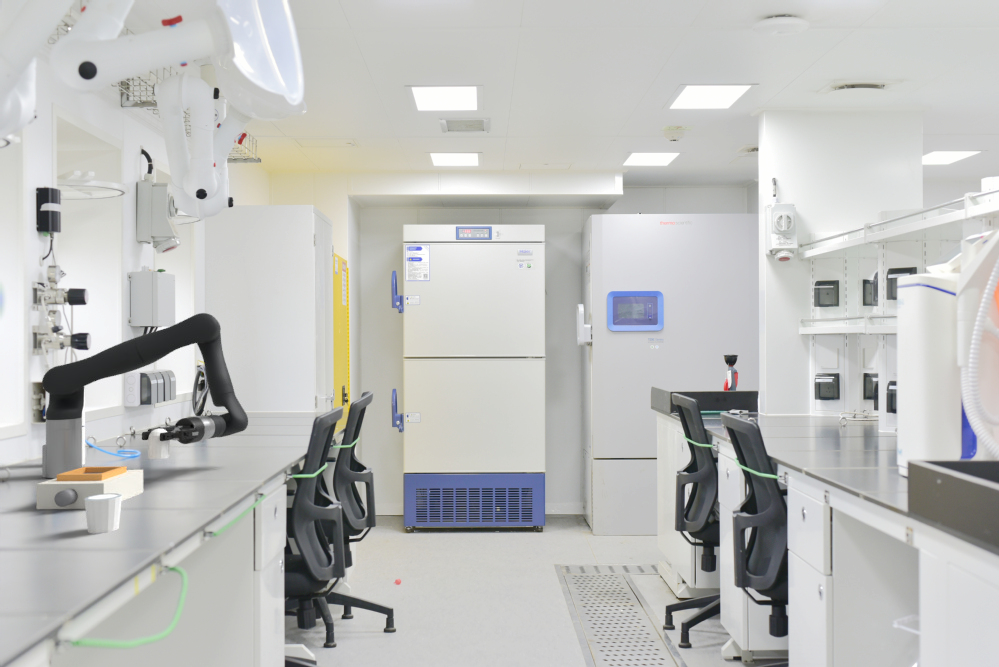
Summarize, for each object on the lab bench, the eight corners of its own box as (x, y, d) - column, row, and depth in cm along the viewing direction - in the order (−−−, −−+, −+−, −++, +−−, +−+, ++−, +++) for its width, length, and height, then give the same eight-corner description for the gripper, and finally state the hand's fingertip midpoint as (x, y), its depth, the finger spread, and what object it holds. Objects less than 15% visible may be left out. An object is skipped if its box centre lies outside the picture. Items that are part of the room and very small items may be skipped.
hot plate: (27, 512, 160) (27, 480, 160) (82, 493, 181) (82, 464, 181) (96, 511, 160) (96, 479, 160) (143, 492, 181) (143, 463, 181)
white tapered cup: (126, 529, 144) (126, 495, 144) (90, 536, 139) (90, 501, 139) (115, 523, 148) (115, 491, 149) (79, 530, 143) (79, 496, 144)
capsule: (161, 455, 191) (161, 426, 191) (173, 457, 189) (174, 428, 189) (143, 458, 187) (143, 428, 187) (156, 459, 184) (156, 430, 184)
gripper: (174, 415, 204) (130, 421, 187) (216, 417, 200) (174, 423, 183) (174, 441, 203) (129, 449, 187) (215, 443, 200) (173, 451, 183)
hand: (152, 436), depth 185 cm, fingers closed on capsule, 5 cm apart
